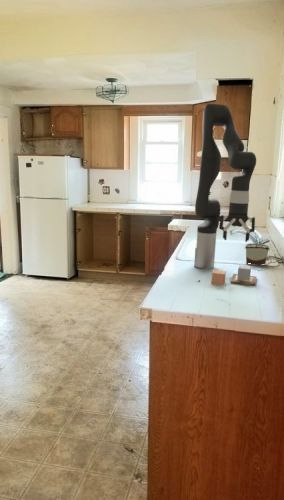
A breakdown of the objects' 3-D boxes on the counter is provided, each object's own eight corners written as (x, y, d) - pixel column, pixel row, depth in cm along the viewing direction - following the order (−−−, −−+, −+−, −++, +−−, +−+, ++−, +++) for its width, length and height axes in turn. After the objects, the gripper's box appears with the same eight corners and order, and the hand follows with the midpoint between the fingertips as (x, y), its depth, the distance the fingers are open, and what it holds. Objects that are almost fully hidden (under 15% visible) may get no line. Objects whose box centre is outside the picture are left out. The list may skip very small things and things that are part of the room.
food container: (265, 262, 197) (267, 243, 195) (268, 265, 191) (270, 246, 189) (241, 261, 198) (243, 242, 196) (243, 264, 192) (245, 245, 190)
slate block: (237, 279, 161) (238, 268, 160) (238, 276, 166) (239, 265, 165) (249, 280, 160) (250, 269, 158) (250, 277, 164) (251, 266, 163)
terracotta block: (211, 284, 157) (212, 272, 156) (212, 281, 162) (213, 269, 161) (223, 285, 155) (224, 274, 154) (224, 282, 160) (225, 271, 159)
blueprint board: (230, 283, 159) (230, 280, 159) (233, 275, 170) (233, 273, 170) (255, 286, 156) (255, 283, 155) (256, 278, 167) (256, 276, 167)
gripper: (220, 201, 152) (217, 240, 155) (257, 203, 148) (253, 243, 151) (222, 200, 159) (219, 237, 162) (257, 202, 155) (253, 240, 158)
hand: (235, 240), depth 157 cm, fingers open, 8 cm apart
